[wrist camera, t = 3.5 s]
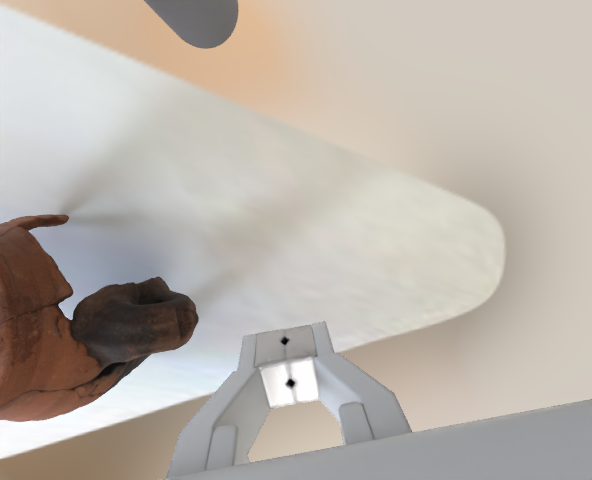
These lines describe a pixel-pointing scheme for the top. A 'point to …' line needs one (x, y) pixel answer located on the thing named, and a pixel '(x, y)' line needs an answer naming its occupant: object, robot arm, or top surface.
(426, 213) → the top surface
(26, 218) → the pottery mug
